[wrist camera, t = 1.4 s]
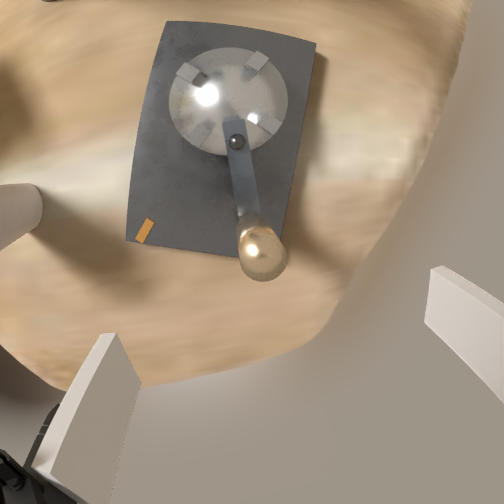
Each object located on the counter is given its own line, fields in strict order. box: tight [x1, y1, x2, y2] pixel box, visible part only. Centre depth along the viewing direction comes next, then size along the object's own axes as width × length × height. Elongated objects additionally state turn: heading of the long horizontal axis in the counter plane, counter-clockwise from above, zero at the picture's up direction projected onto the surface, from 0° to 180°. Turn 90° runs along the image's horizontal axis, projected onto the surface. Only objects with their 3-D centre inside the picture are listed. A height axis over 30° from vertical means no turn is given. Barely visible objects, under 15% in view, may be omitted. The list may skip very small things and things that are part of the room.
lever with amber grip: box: [169, 47, 288, 282], centre depth 21 cm, size 20×11×12 cm, turn 10°
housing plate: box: [126, 21, 316, 258], centre depth 27 cm, size 26×17×2 cm, turn 170°
